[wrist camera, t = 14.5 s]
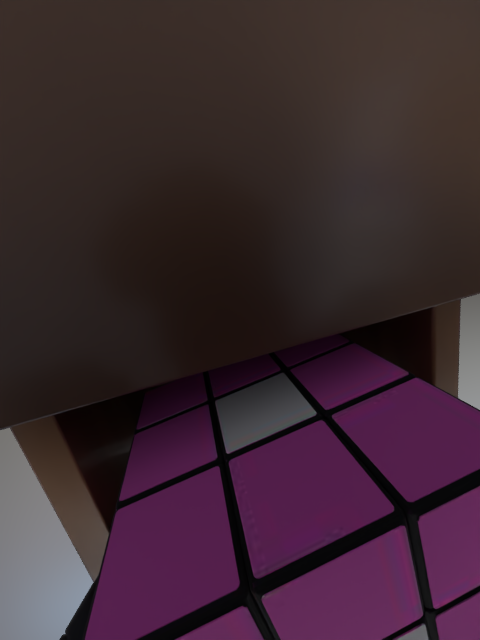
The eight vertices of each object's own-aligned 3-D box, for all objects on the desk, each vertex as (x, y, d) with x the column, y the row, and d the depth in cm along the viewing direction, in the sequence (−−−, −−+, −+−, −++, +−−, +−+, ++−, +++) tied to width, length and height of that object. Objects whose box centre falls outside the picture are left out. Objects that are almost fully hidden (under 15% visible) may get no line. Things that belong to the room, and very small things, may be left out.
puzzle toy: (210, 525, 10) (248, 872, 4) (141, 392, 8) (62, 690, 3) (354, 458, 10) (546, 690, 5) (319, 320, 9) (553, 443, 3)
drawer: (337, 419, 18) (477, 573, 9) (158, 478, 16) (133, 728, 8) (306, 165, 13) (514, 31, 5) (57, 212, 12) (-238, 132, 3)
